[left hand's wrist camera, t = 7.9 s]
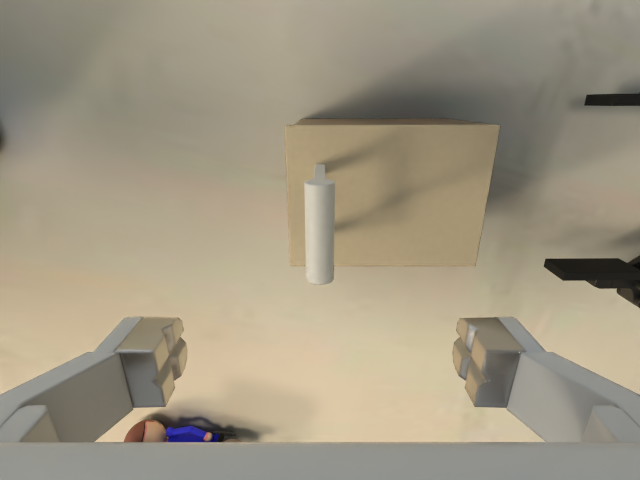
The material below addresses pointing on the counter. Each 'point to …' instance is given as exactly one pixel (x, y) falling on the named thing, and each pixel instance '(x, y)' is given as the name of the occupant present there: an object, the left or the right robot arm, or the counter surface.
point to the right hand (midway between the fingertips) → (573, 192)
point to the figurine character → (173, 434)
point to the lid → (386, 195)
